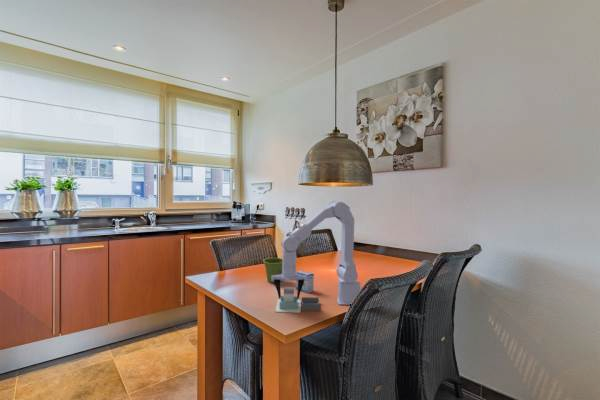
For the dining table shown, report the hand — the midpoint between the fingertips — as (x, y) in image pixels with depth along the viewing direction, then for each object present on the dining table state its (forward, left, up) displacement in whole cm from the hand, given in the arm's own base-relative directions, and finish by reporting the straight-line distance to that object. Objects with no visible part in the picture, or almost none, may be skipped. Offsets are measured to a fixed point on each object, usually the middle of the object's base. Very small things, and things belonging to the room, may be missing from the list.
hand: (288, 297), depth 125 cm
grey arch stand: (-9, 0, -4) cm, 10 cm away
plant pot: (+9, -35, -4) cm, 36 cm away
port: (0, 0, -3) cm, 3 cm away
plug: (0, 0, -3) cm, 3 cm away
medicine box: (-7, -21, -4) cm, 22 cm away
